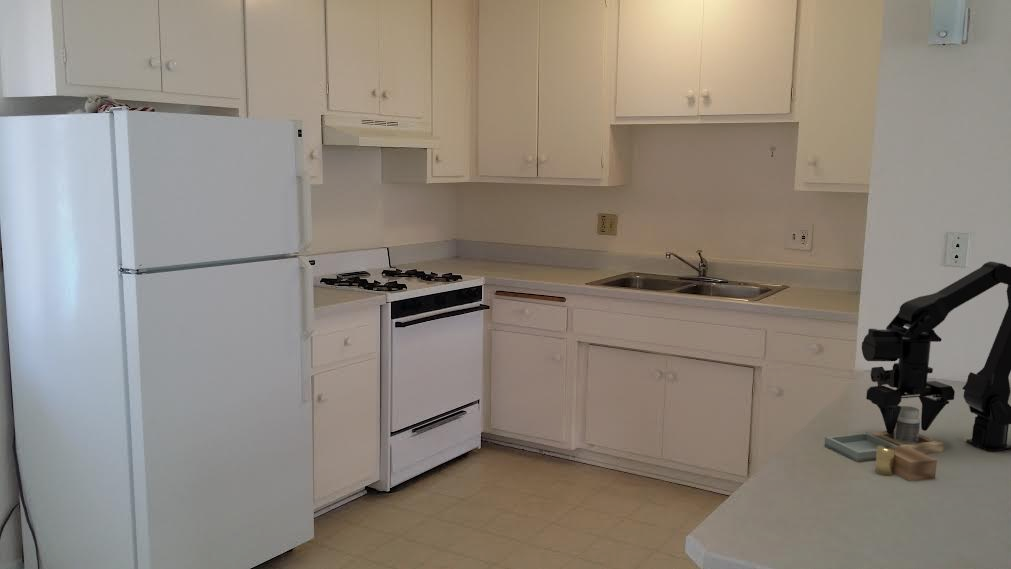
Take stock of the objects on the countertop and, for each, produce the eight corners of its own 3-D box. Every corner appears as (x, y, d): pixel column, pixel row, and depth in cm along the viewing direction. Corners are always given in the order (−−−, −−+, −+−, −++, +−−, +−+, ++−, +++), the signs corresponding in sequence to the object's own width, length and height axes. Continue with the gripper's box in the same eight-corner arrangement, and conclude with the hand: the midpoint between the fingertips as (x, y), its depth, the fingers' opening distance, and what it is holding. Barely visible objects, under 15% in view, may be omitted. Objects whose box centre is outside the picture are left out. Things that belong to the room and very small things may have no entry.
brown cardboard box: (906, 465, 172) (907, 446, 172) (934, 479, 165) (936, 460, 164) (880, 467, 171) (882, 448, 170) (908, 482, 163) (910, 462, 163)
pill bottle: (921, 450, 181) (925, 412, 179) (899, 449, 181) (902, 411, 179) (911, 442, 185) (915, 405, 184) (889, 442, 185) (893, 405, 184)
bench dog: (884, 468, 169) (886, 444, 169) (896, 474, 166) (898, 449, 166) (871, 470, 168) (873, 445, 168) (883, 476, 165) (885, 451, 165)
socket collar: (906, 436, 189) (907, 428, 189) (943, 451, 180) (943, 443, 180) (869, 440, 186) (869, 432, 186) (903, 456, 177) (904, 448, 176)
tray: (866, 441, 186) (866, 432, 185) (900, 456, 176) (901, 447, 176) (824, 446, 182) (825, 437, 182) (857, 462, 173) (858, 452, 172)
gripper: (918, 350, 191) (912, 417, 193) (850, 355, 185) (845, 424, 187) (959, 361, 180) (952, 432, 183) (889, 367, 174) (882, 440, 177)
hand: (907, 432), depth 182 cm, fingers open, 9 cm apart
